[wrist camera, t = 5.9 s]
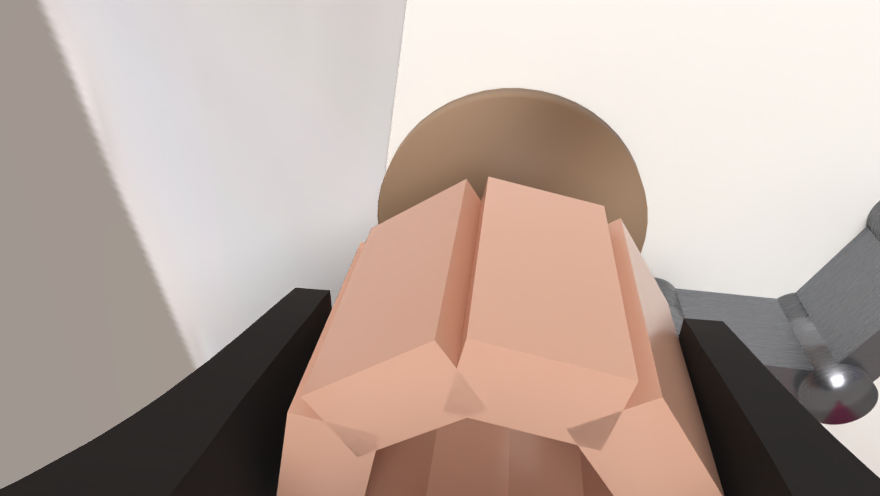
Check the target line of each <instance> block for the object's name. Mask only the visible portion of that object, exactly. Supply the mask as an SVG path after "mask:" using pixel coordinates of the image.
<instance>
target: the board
mask: <svg viewBox="0 0 880 496" xmlns="http://www.w3.org/2000/svg"><path fill="white" fill-rule="evenodd" d="M500 88H525V89H532V90H540V91H544V92H548V93H552V94H556V95H559V96H562V97H564V98H567V99H569V100H571V101H574V102H576V103H578V104H580V105H582V106H583V107H585V108H587V109H588V110H590V111H592V112H593V113H595V114H596V115H597V116H598V117H600V118H601V119H602V120H604V121H605V122H606V123H607V124H608V125H609V126H610V127H611V128H612V129H613V130H614V131H615V132H616V133H617V134H618V135H619V137H620V138H621V139H622V141H623V142H624V144H625V145H626V146H627V148H628V149H629V151H630V153H631V155H632V157H633V159H634V161H635V163H636V166H637V169H638V172H639V175H640V178H641V181H642V184H643V187H644V190H645V195H646V201H647V207H648V224H647V231H646V238H645V242H644V245H643V248H642V251H641V255H642V257H643V259H644V261H645V263H646V264H647V266H648V268H649V270H650V272H651V273H652V275H653V277H655V278H660V279H663V280H666V281H668V282H669V283H671V284H672V285H673V286H674V287H675V288H677V289H687V290H697V291H706V292H716V293H726V294H736V295H745V296H755V297H765V298H775V299H777V298H779V297H781V296H783V295H786V294H790V293H796V292H797V291H798V290H799V289H800V288H801V287H802V286H803V285H804V284H805V283H806V282H807V281H808V280H810V279H811V278H812V277H813V276H814V275H815V274H816V273H817V272H818V271H819V270H820V269H821V268H822V267H823V266H825V265H826V264H827V263H828V262H829V261H830V260H831V259H832V258H833V257H834V256H835V255H836V254H837V253H839V252H840V251H841V250H842V249H843V248H844V247H845V246H846V245H847V244H848V243H849V242H850V241H851V240H852V239H854V238H855V237H856V236H857V235H858V234H859V233H860V232H861V231H862V230H863V229H864V228H865V227H866V222H867V217H868V215H869V213H870V211H871V209H872V208H873V207H874V206H875V204H876V203H877V202H879V201H880V0H407V5H406V13H405V21H404V29H403V37H402V45H401V53H400V61H399V69H398V77H397V85H396V93H395V101H394V109H393V117H392V125H391V133H390V141H389V149H388V157H387V165H386V171H387V169H388V167H389V165H390V162H391V160H392V158H393V157H394V155H395V153H396V151H397V149H398V147H399V146H400V144H401V143H402V141H403V140H404V139H405V137H406V136H407V135H408V133H409V132H410V131H411V130H412V129H413V128H414V127H415V126H416V125H417V124H418V123H419V122H420V121H421V120H423V119H424V118H425V117H427V116H428V115H429V114H431V113H432V112H433V111H435V110H436V109H438V108H440V107H442V106H443V105H445V104H447V103H449V102H451V101H453V100H456V99H458V98H461V97H463V96H466V95H469V94H473V93H477V92H480V91H484V90H492V89H500ZM385 174H386V173H385ZM873 383H874V384H875V386H876V388H877V390H878V401H877V403H876V405H875V407H874V408H873V409H872V410H871V411H870V412H869V413H868V414H867V415H865V416H864V417H862V418H860V419H858V420H856V421H853V422H850V423H846V424H839V425H829V424H823V423H821V424H822V425H823V426H824V427H825V428H826V429H827V430H828V431H829V432H830V433H831V434H832V435H833V436H834V437H835V438H836V439H837V440H838V441H840V442H841V443H842V444H843V445H844V446H845V447H846V448H847V449H848V450H849V451H850V452H852V453H853V454H854V455H855V456H856V457H857V458H858V459H859V460H860V461H861V462H863V463H864V464H865V465H866V466H867V467H868V468H869V469H870V470H871V471H872V472H874V473H875V474H876V475H877V476H878V477H879V478H880V377H879V378H878V379H876V380H875V381H874V382H873Z"/></svg>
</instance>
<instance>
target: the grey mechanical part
mask: <svg viewBox="0 0 880 496" xmlns="http://www.w3.org/2000/svg"><path fill="white" fill-rule="evenodd" d="M654 279H655V281H656V282H657V284H658V286H659V288H660V290H661V291H662V293H663V295H664V297H665V299H666V300H667V302H668V305H669V308H670V312H671V315H672V318H673V322H674V325H675V329H676V332H677V335H678V338H679V334H680V331H681V327H682V323H683V319H684V318H689V319H701V320H714V321H723V322H724V323H725V324H726V325H727V326H728V327H729V328H730V329H731V330H732V331H733V332H734V333H735V334H736V335H737V337H738V338H739V339H740V340H741V341H742V342H743V343H744V344H745V345H746V346H747V347H748V348H749V350H750V351H751V352H752V353H753V354H754V355H755V356H756V357H757V358H758V359H759V360H760V361H761V362H762V364H763V365H764V366H765V367H766V368H767V369H768V370H769V371H770V372H771V373H772V374H773V375H774V376H775V377H776V379H777V380H778V381H779V382H780V383H781V384H782V385H783V386H784V387H785V388H786V389H787V390H788V391H789V392H790V393H791V394H792V395H793V396H794V397H795V398H796V399H797V400H798V401H799V402H800V403H801V404H802V405H803V406H804V407H805V408H806V409H807V410H808V411H809V412H810V413H811V414H812V415H813V416H814V417H815V418H816V419H817V420H818V421H819V422H820V423H823V424H829V425H839V424H846V423H850V422H853V421H856V420H858V419H860V418H862V417H864V416H865V415H867V414H868V413H869V412H870V411H871V410H872V409H873V408H874V407H875V405H876V403H877V401H878V390H877V388H876V386H875V384H874V383H873V382H874V381H875V380H876V379H878V378H879V377H880V201H879V202H877V203H876V204H875V206H874V207H873V208H872V209H871V211H870V213H869V215H868V217H867V222H866V227H865V228H864V229H863V230H862V231H861V232H860V233H859V234H858V235H857V236H856V237H855V238H854V239H852V240H851V241H850V242H849V243H848V244H847V245H846V246H845V247H844V248H843V249H842V250H841V251H840V252H839V253H837V254H836V255H835V256H834V257H833V258H832V259H831V260H830V261H829V262H828V263H827V264H826V265H825V266H823V267H822V268H821V269H820V270H819V271H818V272H817V273H816V274H815V275H814V276H813V277H812V278H811V279H810V280H808V281H807V282H806V283H805V284H804V285H803V286H802V287H801V288H800V289H799V290H798V291H797V292H796V293H790V294H786V295H783V296H781V297H779V298H777V299H775V298H765V297H755V296H745V295H736V294H726V293H716V292H706V291H697V290H687V289H677V288H675V287H674V286H673V285H672V284H671V283H669V282H668V281H666V280H663V279H660V278H655V277H654Z"/></svg>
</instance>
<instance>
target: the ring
mask: <svg viewBox="0 0 880 496" xmlns="http://www.w3.org/2000/svg"><path fill="white" fill-rule="evenodd" d="M277 496H724V492H723V489H722V486H721V482H720V479H719V475H718V472H717V468H716V465H715V462H714V458H713V455H712V451H711V448H710V445H709V441H708V438H707V434H706V431H705V428H704V424H703V421H702V417H701V414H700V410H699V407H698V404H697V400H696V397H695V393H694V390H693V387H692V383H691V380H690V376H689V373H688V370H687V366H686V363H685V359H684V356H683V353H682V349H681V346H680V342H679V339H678V335H677V332H676V329H675V325H674V322H673V318H672V315H671V312H670V308H669V305H668V302H667V300H666V299H665V297H664V295H663V293H662V291H661V290H660V288H659V286H658V284H657V282H656V281H655V279H654V277H653V275H652V273H651V272H650V270H649V268H648V266H647V264H646V263H645V261H644V259H643V257H642V255H641V254H640V252H639V250H638V248H637V246H636V245H635V243H634V241H633V239H632V237H631V236H630V234H629V232H628V230H627V228H626V227H625V225H624V223H623V221H622V219H621V218H620V219H618V220H615V221H613V222H611V223H609V224H608V223H607V218H606V213H605V208H604V206H602V205H598V204H594V203H590V202H587V201H583V200H579V199H575V198H571V197H567V196H563V195H559V194H555V193H551V192H547V191H543V190H539V189H536V188H532V187H528V186H524V185H520V184H516V183H512V182H508V181H504V180H500V179H496V178H492V177H488V179H487V183H486V186H485V190H484V193H483V196H482V200H480V199H479V197H478V196H477V194H476V192H475V191H474V189H473V188H472V186H471V185H470V183H469V182H468V180H467V179H465V180H463V181H461V182H459V183H458V184H456V185H454V186H452V187H450V188H448V189H446V190H444V191H442V192H440V193H438V194H436V195H434V196H433V197H431V198H429V199H427V200H425V201H423V202H421V203H419V204H417V205H415V206H413V207H411V208H409V209H408V210H406V211H404V212H402V213H400V214H398V215H396V216H394V217H392V218H390V219H388V220H386V221H384V222H383V223H381V224H379V225H377V226H375V227H373V228H371V231H370V233H369V235H368V238H367V240H366V242H365V243H363V242H361V243H360V245H359V248H358V250H357V252H356V255H355V257H354V259H353V262H352V264H351V266H350V269H349V271H348V273H347V276H346V278H345V280H344V283H343V285H342V287H341V289H340V292H339V294H338V296H337V299H336V301H335V303H334V306H333V308H332V310H331V313H330V315H329V317H328V320H327V322H326V324H325V327H324V329H323V331H322V333H321V336H320V338H319V340H318V343H317V345H316V347H315V350H314V352H313V354H312V357H311V359H310V361H309V364H308V366H307V368H306V371H305V373H304V375H303V378H302V380H301V382H300V384H299V387H298V389H297V391H296V394H295V396H294V398H293V401H292V403H291V405H290V408H289V410H288V412H287V420H286V428H285V435H284V443H283V451H282V459H281V466H280V474H279V482H278V489H277Z"/></svg>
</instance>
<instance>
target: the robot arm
mask: <svg viewBox="0 0 880 496" xmlns="http://www.w3.org/2000/svg"><path fill="white" fill-rule="evenodd" d="M331 310H332V306H331V296H330V290H317V289H304V288H295V289H294V290H292V291H291V292H290V293H289V294H287V295H286V296H285V297H284V298H283V299H282V300H280V301H279V302H278V303H277V304H276V305H274V306H273V307H272V308H271V309H270V310H269V311H267V312H266V313H265V314H264V315H263V316H262V317H260V318H259V319H258V320H257V321H256V322H255V323H253V324H252V325H251V326H250V327H249V328H248V329H246V330H245V331H244V332H243V333H242V334H240V335H239V336H238V337H237V338H236V339H234V340H233V341H232V342H231V343H230V344H228V345H227V346H226V347H225V348H223V349H222V350H221V351H220V352H219V353H217V354H216V355H215V356H214V357H212V358H211V359H210V360H209V361H207V362H206V363H205V364H203V365H202V366H201V367H199V368H198V369H197V370H195V371H194V372H193V373H191V374H190V375H189V376H187V377H186V378H185V379H183V380H182V381H181V382H179V383H178V384H177V385H175V386H174V387H173V388H171V389H170V390H169V391H167V392H166V393H165V394H163V395H162V396H160V397H159V398H158V399H156V400H155V401H153V402H152V403H150V404H149V405H147V406H146V407H144V408H143V409H141V410H140V411H138V412H137V413H135V414H134V415H132V416H131V417H129V418H127V419H126V420H124V421H123V422H121V423H120V424H118V425H116V426H115V427H113V428H111V429H110V430H108V431H107V432H105V433H103V434H102V435H100V436H99V437H97V438H95V439H93V440H92V441H90V442H88V443H87V444H85V445H83V446H81V447H79V448H77V449H76V450H74V451H72V452H70V453H68V454H66V455H65V456H63V457H61V458H59V459H57V460H56V461H54V462H52V463H50V464H48V465H46V466H45V467H43V468H41V469H39V470H37V471H35V472H34V473H32V474H30V475H28V476H26V477H24V478H22V479H20V480H19V481H17V482H15V483H12V484H10V485H8V486H6V487H4V488H2V489H0V496H277V489H278V482H279V474H280V466H281V459H282V451H283V443H284V435H285V428H286V420H287V412H288V410H289V408H290V405H291V403H292V401H293V398H294V396H295V394H296V391H297V389H298V387H299V384H300V382H301V380H302V378H303V375H304V373H305V371H306V368H307V366H308V364H309V361H310V359H311V357H312V354H313V352H314V350H315V347H316V345H317V343H318V340H319V338H320V336H321V333H322V331H323V329H324V327H325V324H326V322H327V320H328V317H329V315H330V313H331ZM678 339H679V342H680V346H681V349H682V353H683V356H684V359H685V363H686V366H687V370H688V373H689V376H690V380H691V383H692V387H693V390H694V393H695V397H696V400H697V404H698V407H699V410H700V414H701V417H702V421H703V424H704V428H705V431H706V434H707V438H708V441H709V445H710V448H711V451H712V455H713V458H714V462H715V465H716V468H717V472H718V475H719V479H720V482H721V486H722V489H723V492H724V496H880V478H879V477H878V476H877V475H876V474H875V473H874V472H872V471H871V470H870V469H869V468H868V467H867V466H866V465H865V464H864V463H863V462H861V461H860V460H859V459H858V458H857V457H856V456H855V455H854V454H853V453H852V452H850V451H849V450H848V449H847V448H846V447H845V446H844V445H843V444H842V443H841V442H840V441H838V440H837V439H836V438H835V437H834V436H833V435H832V434H831V433H830V432H829V431H828V430H827V429H826V428H825V427H824V426H823V425H822V424H821V423H820V422H819V421H818V420H817V419H816V418H815V417H814V416H813V415H812V414H811V413H810V412H809V411H808V410H807V409H806V408H805V407H804V406H803V405H802V404H801V403H800V402H799V401H798V400H797V399H796V398H795V397H794V396H793V395H792V394H791V393H790V392H789V391H788V390H787V389H786V388H785V387H784V386H783V385H782V384H781V383H780V382H779V381H778V380H777V379H776V377H775V376H774V375H773V374H772V373H771V372H770V371H769V370H768V369H767V368H766V367H765V366H764V365H763V364H762V362H761V361H760V360H759V359H758V358H757V357H756V356H755V355H754V354H753V353H752V352H751V351H750V350H749V348H748V347H747V346H746V345H745V344H744V343H743V342H742V341H741V340H740V339H739V338H738V337H737V335H736V334H735V333H734V332H733V331H732V330H731V329H730V328H729V327H728V326H727V325H726V324H725V323H724V322H723V321H714V320H701V319H689V318H684V319H683V323H682V327H681V331H680V334H679V338H678Z"/></svg>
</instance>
